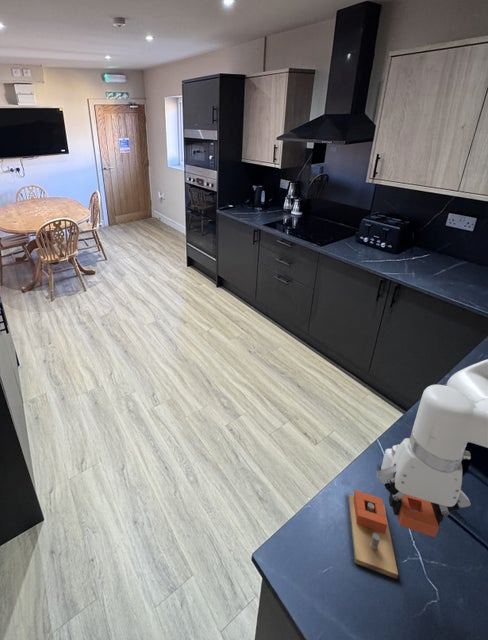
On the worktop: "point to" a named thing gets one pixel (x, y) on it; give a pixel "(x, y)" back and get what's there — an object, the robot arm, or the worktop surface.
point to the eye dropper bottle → (389, 458)
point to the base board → (372, 545)
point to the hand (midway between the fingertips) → (413, 513)
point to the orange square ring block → (418, 515)
